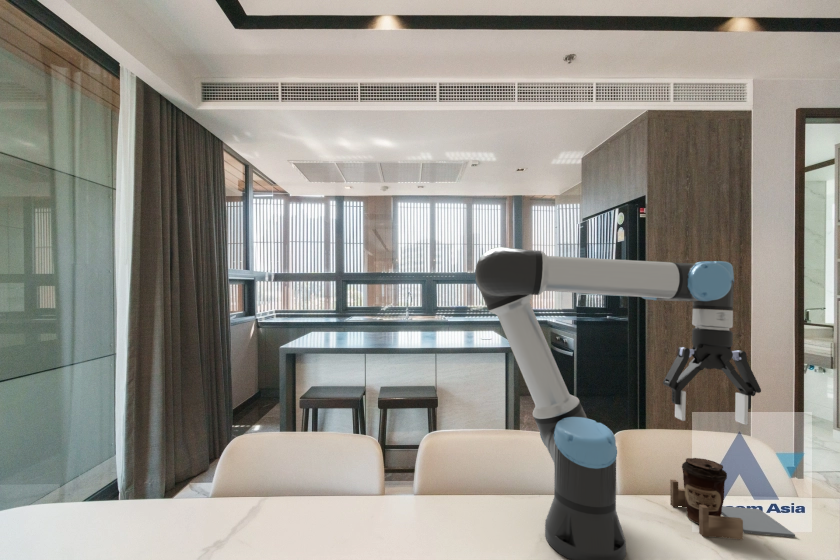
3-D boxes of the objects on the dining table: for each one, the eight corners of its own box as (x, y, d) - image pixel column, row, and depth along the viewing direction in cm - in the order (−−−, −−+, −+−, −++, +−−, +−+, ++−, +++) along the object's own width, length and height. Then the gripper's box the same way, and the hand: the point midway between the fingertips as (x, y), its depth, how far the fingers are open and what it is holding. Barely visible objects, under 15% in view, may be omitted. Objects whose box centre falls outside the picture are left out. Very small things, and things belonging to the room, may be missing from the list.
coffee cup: (728, 537, 82) (727, 474, 82) (680, 522, 87) (680, 463, 87) (727, 519, 88) (726, 461, 89) (683, 506, 93) (683, 452, 94)
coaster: (744, 532, 83) (744, 529, 83) (714, 507, 93) (714, 505, 93) (795, 537, 82) (795, 534, 82) (759, 511, 92) (759, 509, 92)
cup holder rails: (702, 536, 82) (702, 507, 82) (670, 504, 94) (670, 479, 95) (743, 540, 81) (743, 510, 81) (705, 507, 93) (705, 482, 94)
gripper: (666, 326, 86) (663, 422, 85) (782, 332, 85) (781, 430, 84) (648, 324, 94) (645, 412, 93) (755, 329, 92) (753, 419, 92)
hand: (710, 421), depth 88 cm, fingers open, 13 cm apart
